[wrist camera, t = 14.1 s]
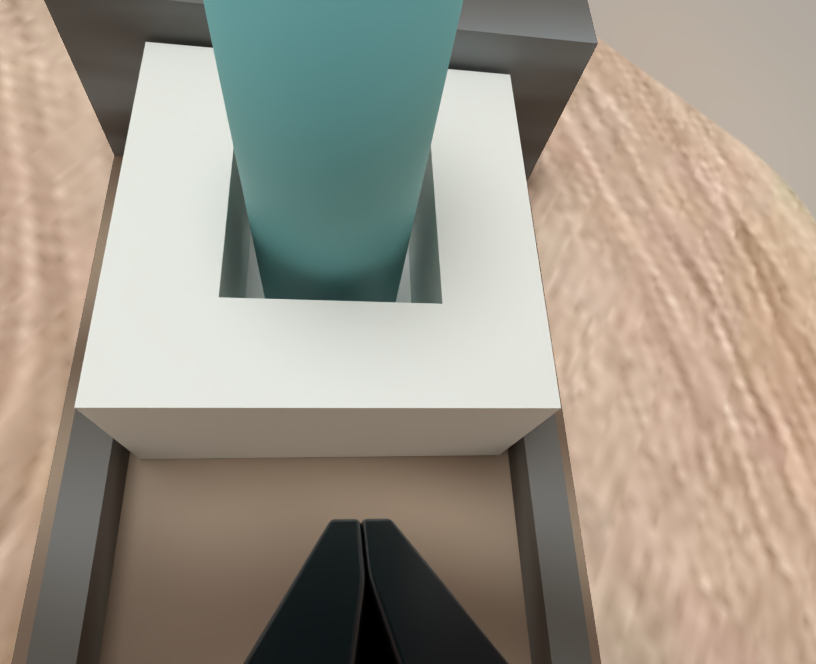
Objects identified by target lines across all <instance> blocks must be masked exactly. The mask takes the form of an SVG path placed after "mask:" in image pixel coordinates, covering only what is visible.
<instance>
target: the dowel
mask: <svg viewBox="0 0 816 664" xmlns="http://www.w3.org/2000/svg"><path fill="white" fill-rule="evenodd" d="M203 2H204V7H205V12H206V17H207V22H208V26H209V31H210V36H211V41H212V46H213V50H214V55H215V60H216V65H217V70H218V75H219V79H220V84H221V89H222V94H223V99H224V104H225V108H226V113H227V118H228V123H229V128H230V133H231V137H232V142H233V147H234V152H235V157H236V161H237V166H238V171H239V176H240V181H241V186H242V190H243V195H244V200H245V205H246V210H247V215H248V219H249V224H250V229H251V234H252V239H253V244H254V248H255V253H256V258H257V263H258V268H259V273H260V277H261V282H262V287H263V292H264V297H265V299H294V300H329V301H364V302H396V298H397V294H398V289H399V285H400V280H401V276H402V272H403V267H404V263H405V258H406V254H407V249H408V245H409V240H410V236H411V231H412V227H413V223H414V218H415V214H416V209H417V205H418V200H419V196H420V191H421V187H422V182H423V178H424V174H425V169H426V165H427V160H428V156H429V151H430V147H431V142H432V138H433V133H434V129H435V125H436V120H437V116H438V111H439V107H440V102H441V98H442V93H443V89H444V84H445V80H446V76H447V71H448V67H449V62H450V58H451V53H452V49H453V44H454V40H455V35H456V31H457V27H458V22H459V18H460V13H461V9H462V4H463V0H203Z"/></svg>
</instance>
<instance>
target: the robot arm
mask: <svg viewBox="0 0 816 664" xmlns="http://www.w3.org/2000/svg"><path fill="white" fill-rule="evenodd" d="M243 664H510V663H509V662H508V661H507V660H506V659H505V657H504V656H503V655H502V654H501V652H500V651H499V650H498V649H497V648H496V646H495V645H494V644H493V643H492V641H491V640H490V639H489V638H488V637H487V635H486V634H485V633H484V632H483V631H482V629H481V628H480V627H479V626H478V624H477V623H476V622H475V621H474V620H473V618H472V617H471V616H470V615H469V613H468V612H467V611H466V610H465V609H464V607H463V606H462V605H461V604H460V602H459V601H458V600H457V599H456V598H455V596H454V595H453V594H452V593H451V591H450V590H449V589H448V588H447V587H446V585H445V584H444V583H443V582H442V580H441V579H440V578H439V577H438V576H437V574H436V573H435V572H434V571H433V569H432V568H431V567H430V566H429V565H428V563H427V562H426V561H425V560H424V558H423V557H422V556H421V555H420V554H419V552H418V551H417V550H416V549H415V547H414V546H413V545H412V544H411V543H410V541H409V540H408V539H407V538H406V537H405V535H404V534H403V533H402V532H401V530H400V529H399V528H398V527H397V526H396V524H395V523H394V522H393V521H392V520H390V519H387V518H382V519H364V520H363V521H362V522H361V523H360V521H359V520H357V519H332V520H331V521H330V522H329V523H328V524H327V526H326V527H325V529H324V531H323V532H322V534H321V536H320V537H319V539H318V541H317V542H316V544H315V546H314V547H313V549H312V551H311V552H310V554H309V556H308V557H307V559H306V561H305V562H304V564H303V566H302V567H301V569H300V570H299V572H298V574H297V575H296V577H295V579H294V580H293V582H292V584H291V585H290V587H289V589H288V590H287V592H286V594H285V595H284V597H283V599H282V600H281V602H280V604H279V605H278V607H277V609H276V610H275V612H274V613H273V615H272V617H271V618H270V620H269V622H268V623H267V625H266V627H265V628H264V630H263V632H262V633H261V635H260V637H259V638H258V640H257V642H256V643H255V645H254V647H253V648H252V650H251V651H250V653H249V655H248V656H247V658H246V660H245V661H244V663H243Z"/></svg>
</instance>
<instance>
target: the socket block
mask: <svg viewBox="0 0 816 664" xmlns="http://www.w3.org/2000/svg"><path fill="white" fill-rule="evenodd" d="M74 408H75V409H77V410H78V411H79V412H80V413H82V414H83V415H84V416H86V417H87V418H88V419H89V420H91V421H92V422H93V423H95V424H96V425H97V426H98V427H100V428H101V429H102V430H103V431H105V432H106V433H107V434H109V435H110V436H111V437H112V438H114V439H115V440H116V441H118V442H119V443H120V444H121V445H123V446H124V447H125V448H127V449H128V450H129V451H130V452H132V453H133V454H134V455H135V456H137V457H138V458H139V459H204V458H293V457H382V456H471V455H500V454H501V453H503V452H504V451H505V450H507V449H508V448H509V447H510V446H512V445H513V444H514V443H516V442H517V441H518V440H520V439H521V438H522V437H524V436H525V435H526V434H528V433H529V432H530V431H532V430H533V429H534V428H536V427H537V426H538V425H540V424H541V423H542V422H544V421H545V420H546V419H548V418H549V417H550V416H552V415H553V414H554V413H555V412H557V411H558V410H559V409H561V404H560V398H559V391H558V385H557V378H556V371H555V365H554V358H553V352H552V345H551V339H550V332H549V326H548V319H547V313H546V306H545V300H544V293H543V287H542V280H541V273H540V267H539V260H538V254H537V247H536V241H535V234H534V228H533V221H532V215H531V208H530V202H529V195H528V189H527V182H526V175H525V169H524V162H523V156H522V149H521V143H520V136H519V130H518V123H517V117H516V110H515V104H514V97H513V91H512V84H511V77H510V75H509V74H498V73H487V72H476V71H464V70H453V69H448V71H447V76H446V80H445V84H444V89H443V93H442V98H441V102H440V107H439V111H438V116H437V120H436V125H435V129H434V133H433V138H432V142H431V147H430V151H429V156H428V160H427V165H426V169H425V174H424V178H423V182H422V187H421V191H420V196H419V200H418V205H417V209H416V214H415V218H414V223H413V227H412V231H411V236H410V240H409V245H408V249H407V254H406V258H405V263H404V267H403V272H402V276H401V280H400V285H399V289H398V294H397V298H396V302H364V301H329V300H294V299H265V297H264V292H263V287H262V282H261V277H260V273H259V268H258V263H257V258H256V253H255V248H254V244H253V239H252V234H251V229H250V224H249V219H248V215H247V210H246V205H245V200H244V195H243V190H242V186H241V181H240V176H239V171H238V166H237V161H236V157H235V152H234V147H233V142H232V137H231V133H230V128H229V123H228V118H227V113H226V108H225V104H224V99H223V94H222V89H221V84H220V79H219V75H218V70H217V65H216V60H215V55H214V50H213V48H209V47H198V46H187V45H175V44H164V43H153V42H145V48H144V53H143V58H142V63H141V68H140V73H139V78H138V83H137V89H136V94H135V99H134V104H133V109H132V114H131V119H130V124H129V130H128V135H127V140H126V145H125V150H124V155H123V160H122V165H121V171H120V176H119V181H118V186H117V191H116V196H115V201H114V207H113V212H112V217H111V222H110V227H109V232H108V237H107V242H106V248H105V253H104V258H103V263H102V268H101V273H100V278H99V283H98V289H97V294H96V299H95V304H94V309H93V314H92V319H91V324H90V330H89V335H88V340H87V345H86V350H85V355H84V360H83V366H82V371H81V376H80V381H79V386H78V391H77V396H76V401H75V407H74Z"/></svg>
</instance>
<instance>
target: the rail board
mask: <svg viewBox="0 0 816 664" xmlns="http://www.w3.org/2000/svg"><path fill="white" fill-rule="evenodd" d="M44 1H45V3H46V5H47V7H48V10H49V12H50V14H51V16H52V18H53V21H54V23H55V25H56V27H57V29H58V32H59V34H60V36H61V38H62V40H63V43H64V45H65V47H66V49H67V52H68V54H69V56H70V58H71V60H72V63H73V65H74V67H75V69H76V71H77V74H78V76H79V78H80V80H81V82H82V85H83V87H84V89H85V91H86V93H87V96H88V98H89V100H90V102H91V104H92V107H93V109H94V111H95V113H96V116H97V118H98V120H99V122H100V124H101V127H102V129H103V131H104V133H105V135H106V138H107V140H108V142H109V144H110V146H111V149H112V151H113V153H114V155H115V156H114V161H113V166H112V170H111V175H110V180H109V185H108V190H107V195H106V200H105V205H104V210H103V215H102V220H101V225H100V230H99V235H98V240H97V244H96V249H95V254H94V259H93V264H92V269H91V274H90V279H89V284H88V289H87V294H86V299H85V304H84V309H83V314H82V318H81V323H80V328H79V333H78V338H77V343H76V348H75V353H74V358H73V363H72V368H71V373H70V378H69V383H68V387H67V392H66V397H65V402H64V407H63V412H62V417H61V422H60V427H59V432H58V437H57V442H56V447H55V452H54V457H53V461H52V466H51V471H50V476H49V481H48V486H47V491H46V496H45V501H44V506H43V511H42V516H41V521H40V526H39V531H38V535H37V540H36V545H35V550H34V555H33V560H32V565H31V570H30V575H29V580H28V585H27V590H26V595H25V600H24V605H23V609H22V614H21V619H20V624H19V629H18V634H17V639H16V644H15V649H14V654H13V659H12V664H243V663H244V661H245V660H246V658H247V656H248V655H249V653H250V651H251V650H252V648H253V647H254V645H255V643H256V642H257V640H258V638H259V637H260V635H261V633H262V632H263V630H264V628H265V627H266V625H267V623H268V622H269V620H270V618H271V617H272V615H273V613H274V612H275V610H276V609H277V607H278V605H279V604H280V602H281V600H282V599H283V597H284V595H285V594H286V592H287V590H288V589H289V587H290V585H291V584H292V582H293V580H294V579H295V577H296V575H297V574H298V572H299V570H300V569H301V567H302V566H303V564H304V562H305V561H306V559H307V557H308V556H309V554H310V552H311V551H312V549H313V547H314V546H315V544H316V542H317V541H318V539H319V537H320V536H321V534H322V532H323V531H324V529H325V527H326V526H327V524H328V523H329V522H330V521H331V520H332V519H357V520H359V521H360V523H361V522H362V521H363V520H364V519H382V518H387V519H390V520H392V521H393V522H394V523H395V524H396V526H397V527H398V528H399V529H400V530H401V532H402V533H403V534H404V535H405V537H406V538H407V539H408V540H409V541H410V543H411V544H412V545H413V546H414V547H415V549H416V550H417V551H418V552H419V554H420V555H421V556H422V557H423V558H424V560H425V561H426V562H427V563H428V565H429V566H430V567H431V568H432V569H433V571H434V572H435V573H436V574H437V576H438V577H439V578H440V579H441V580H442V582H443V583H444V584H445V585H446V587H447V588H448V589H449V590H450V591H451V593H452V594H453V595H454V596H455V598H456V599H457V600H458V601H459V602H460V604H461V605H462V606H463V607H464V609H465V610H466V611H467V612H468V613H469V615H470V616H471V617H472V618H473V620H474V621H475V622H476V623H477V624H478V626H479V627H480V628H481V629H482V631H483V632H484V633H485V634H486V635H487V637H488V638H489V639H490V640H491V641H492V643H493V644H494V645H495V646H496V648H497V649H498V650H499V651H500V652H501V654H502V655H503V656H504V657H505V659H506V660H507V661H508V662H509V663H510V664H601V660H600V653H599V646H598V640H597V633H596V627H595V620H594V614H593V607H592V601H591V594H590V588H589V581H588V575H587V568H586V562H585V555H584V549H583V542H582V536H581V529H580V523H579V516H578V510H577V503H576V497H575V490H574V484H573V477H572V471H571V464H570V458H569V451H568V445H567V438H566V432H565V425H564V419H563V412H562V406H561V409H559V410H558V411H557V412H555V413H554V414H553V415H552V416H550V417H549V418H548V419H546V420H545V421H544V422H542V423H541V424H540V425H538V426H537V427H536V428H534V429H533V430H532V431H530V432H529V433H528V434H526V435H525V436H524V437H522V438H521V439H520V440H518V441H517V442H516V443H514V444H513V445H512V446H510V447H509V448H508V449H507V450H505V451H504V452H503V453H501V454H500V455H471V456H382V457H293V458H204V459H139V458H138V457H137V456H135V455H134V454H133V453H132V452H130V451H129V450H128V449H127V448H125V447H124V446H123V445H121V444H120V443H119V442H118V441H116V440H115V439H114V438H112V437H111V436H110V435H109V434H107V433H106V432H105V431H103V430H102V429H101V428H100V427H98V426H97V425H96V424H95V423H93V422H92V421H91V420H89V419H88V418H87V417H86V416H84V415H83V414H82V413H80V412H79V411H78V410H77V409H75V408H74V407H75V401H76V396H77V391H78V386H79V381H80V376H81V371H82V366H83V360H84V355H85V350H86V345H87V340H88V335H89V330H90V324H91V319H92V314H93V309H94V304H95V299H96V294H97V289H98V283H99V278H100V273H101V268H102V263H103V258H104V253H105V248H106V242H107V237H108V232H109V227H110V222H111V217H112V212H113V207H114V201H115V196H116V191H117V186H118V181H119V176H120V171H121V165H122V160H123V155H124V150H125V145H126V140H127V135H128V130H129V124H130V119H131V114H132V109H133V104H134V99H135V94H136V89H137V83H138V78H139V73H140V68H141V63H142V58H143V53H144V48H145V42H153V43H164V44H175V45H187V46H198V47H209V48H213V46H212V41H211V36H210V31H209V26H208V22H207V17H206V12H205V7H204V2H203V0H44ZM597 44H598V42H597V38H596V34H595V30H594V26H593V22H592V18H591V14H590V10H589V5H588V1H587V0H463V4H462V9H461V13H460V18H459V22H458V27H457V31H456V35H455V40H454V44H453V49H452V53H451V58H450V62H449V67H448V69H453V70H464V71H476V72H487V73H498V74H509V75H510V77H511V84H512V91H513V97H514V104H515V110H516V117H517V123H518V130H519V136H520V143H521V149H522V156H523V162H524V169H525V175H526V182H527V180H528V178H529V176H530V174H531V172H532V170H533V168H534V166H535V164H536V162H537V160H538V159H539V157H540V155H541V153H542V151H543V149H544V147H545V145H546V143H547V141H548V139H549V137H550V135H551V133H552V131H553V129H554V127H555V126H556V124H557V122H558V120H559V118H560V116H561V114H562V112H563V110H564V108H565V106H566V104H567V102H568V100H569V98H570V96H571V94H572V92H573V91H574V89H575V87H576V85H577V83H578V81H579V79H580V77H581V75H582V73H583V71H584V69H585V67H586V65H587V63H588V61H589V59H590V58H591V56H592V54H593V52H594V50H595V48H596V46H597ZM527 189H528V184H527ZM528 195H529V191H528ZM529 202H530V197H529ZM530 208H531V204H530ZM531 215H532V210H531ZM532 221H533V217H532ZM533 228H534V223H533ZM534 234H535V230H534ZM535 241H536V236H535ZM536 247H537V243H536ZM537 254H538V249H537ZM538 260H539V256H538ZM539 267H540V262H539ZM540 273H541V269H540ZM541 280H542V275H541ZM542 287H543V282H542ZM543 293H544V288H543ZM544 300H545V295H544ZM545 306H546V301H545ZM546 313H547V308H546ZM547 319H548V314H547ZM548 326H549V321H548ZM549 332H550V327H549ZM550 339H551V334H550ZM551 345H552V340H551ZM552 352H553V347H552ZM553 358H554V354H553ZM554 365H555V360H554ZM555 371H556V367H555ZM556 378H557V373H556ZM557 385H558V380H557ZM558 391H559V386H558ZM559 398H560V393H559ZM560 404H561V399H560Z"/></svg>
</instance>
